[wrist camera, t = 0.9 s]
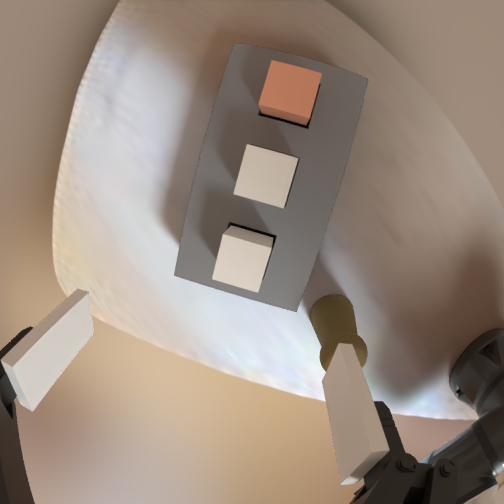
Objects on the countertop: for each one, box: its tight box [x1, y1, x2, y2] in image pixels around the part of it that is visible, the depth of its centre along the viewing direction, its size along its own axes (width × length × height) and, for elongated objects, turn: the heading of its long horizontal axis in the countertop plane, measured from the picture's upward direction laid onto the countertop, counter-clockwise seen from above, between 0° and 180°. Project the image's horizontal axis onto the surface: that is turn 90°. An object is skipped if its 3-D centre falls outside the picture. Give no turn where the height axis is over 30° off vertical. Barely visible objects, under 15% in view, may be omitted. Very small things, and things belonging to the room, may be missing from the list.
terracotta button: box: [258, 60, 322, 125], centre depth 23 cm, size 4×4×4 cm
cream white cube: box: [233, 144, 298, 208], centre depth 25 cm, size 4×4×4 cm
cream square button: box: [212, 225, 273, 293], centre depth 28 cm, size 4×4×4 cm
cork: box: [310, 295, 367, 372], centre depth 32 cm, size 6×6×11 cm
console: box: [174, 43, 368, 312], centre depth 30 cm, size 14×26×6 cm, turn 165°
